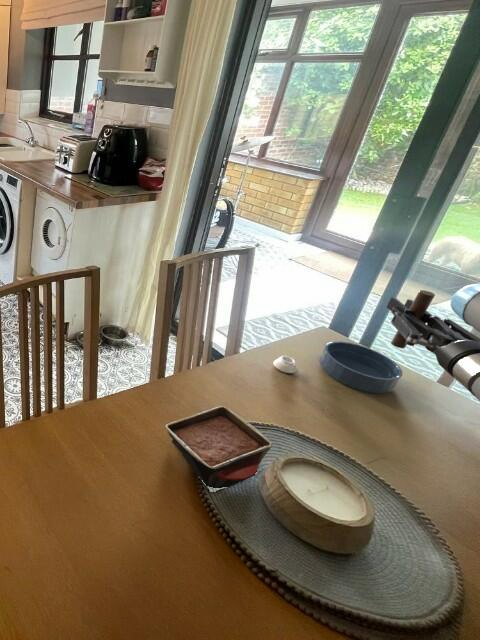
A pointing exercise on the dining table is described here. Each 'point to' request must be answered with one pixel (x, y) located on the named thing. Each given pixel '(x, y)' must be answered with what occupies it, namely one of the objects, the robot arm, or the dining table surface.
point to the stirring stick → (415, 314)
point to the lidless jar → (285, 364)
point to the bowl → (360, 367)
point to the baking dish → (219, 446)
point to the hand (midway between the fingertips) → (398, 303)
